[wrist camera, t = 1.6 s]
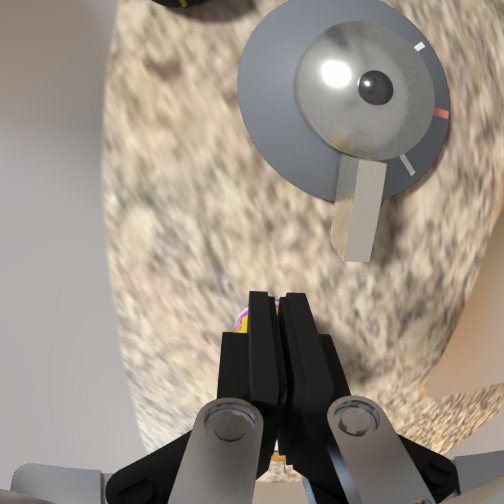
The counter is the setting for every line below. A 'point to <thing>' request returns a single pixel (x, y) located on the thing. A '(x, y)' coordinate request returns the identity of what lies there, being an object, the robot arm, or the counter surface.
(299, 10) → the base plate
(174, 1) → the tape measure
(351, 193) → the dial
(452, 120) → the counter surface
